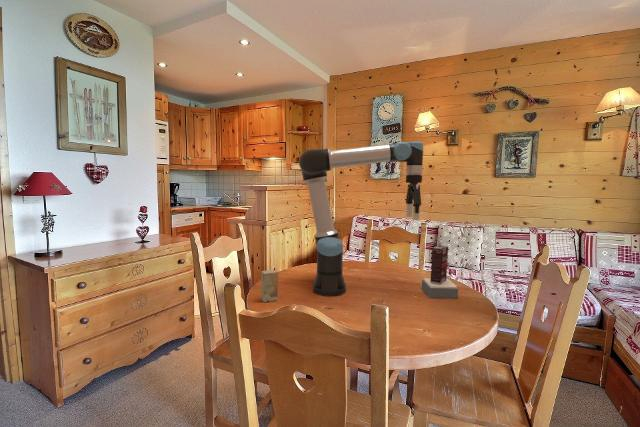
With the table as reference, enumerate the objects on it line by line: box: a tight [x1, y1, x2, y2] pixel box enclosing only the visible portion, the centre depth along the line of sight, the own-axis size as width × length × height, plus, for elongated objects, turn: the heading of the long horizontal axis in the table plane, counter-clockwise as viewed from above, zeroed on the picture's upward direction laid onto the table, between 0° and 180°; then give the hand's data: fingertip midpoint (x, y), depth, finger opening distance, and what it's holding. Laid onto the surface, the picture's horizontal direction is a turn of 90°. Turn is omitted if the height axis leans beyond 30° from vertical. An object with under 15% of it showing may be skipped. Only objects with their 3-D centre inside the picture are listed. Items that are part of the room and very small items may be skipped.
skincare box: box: [260, 269, 279, 303], centre depth 135 cm, size 6×4×12 cm
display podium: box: [421, 277, 459, 299], centre depth 144 cm, size 12×12×5 cm
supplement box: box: [430, 244, 449, 285], centre depth 144 cm, size 9×5×16 cm, turn 142°
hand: (412, 218), depth 158 cm, fingers open, 13 cm apart
